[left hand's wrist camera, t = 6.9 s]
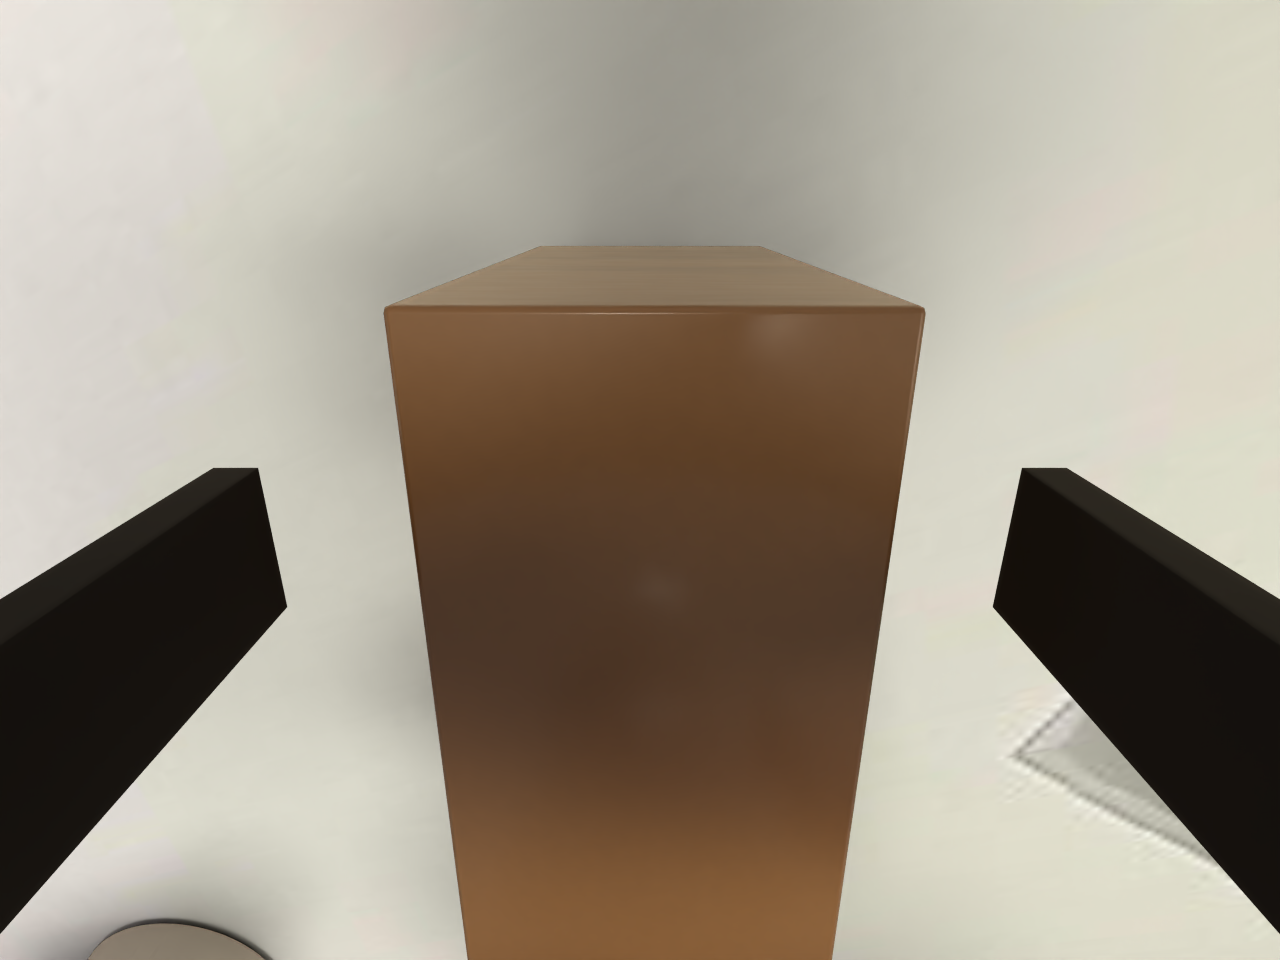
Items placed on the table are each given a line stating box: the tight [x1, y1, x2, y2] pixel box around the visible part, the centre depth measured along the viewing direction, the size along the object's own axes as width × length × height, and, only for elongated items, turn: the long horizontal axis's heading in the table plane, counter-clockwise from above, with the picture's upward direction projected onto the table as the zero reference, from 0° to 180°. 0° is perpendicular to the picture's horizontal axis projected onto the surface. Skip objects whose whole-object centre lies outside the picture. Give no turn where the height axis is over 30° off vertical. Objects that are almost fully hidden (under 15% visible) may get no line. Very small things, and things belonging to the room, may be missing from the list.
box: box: [384, 246, 926, 960], centre depth 19 cm, size 25×6×13 cm, turn 0°
